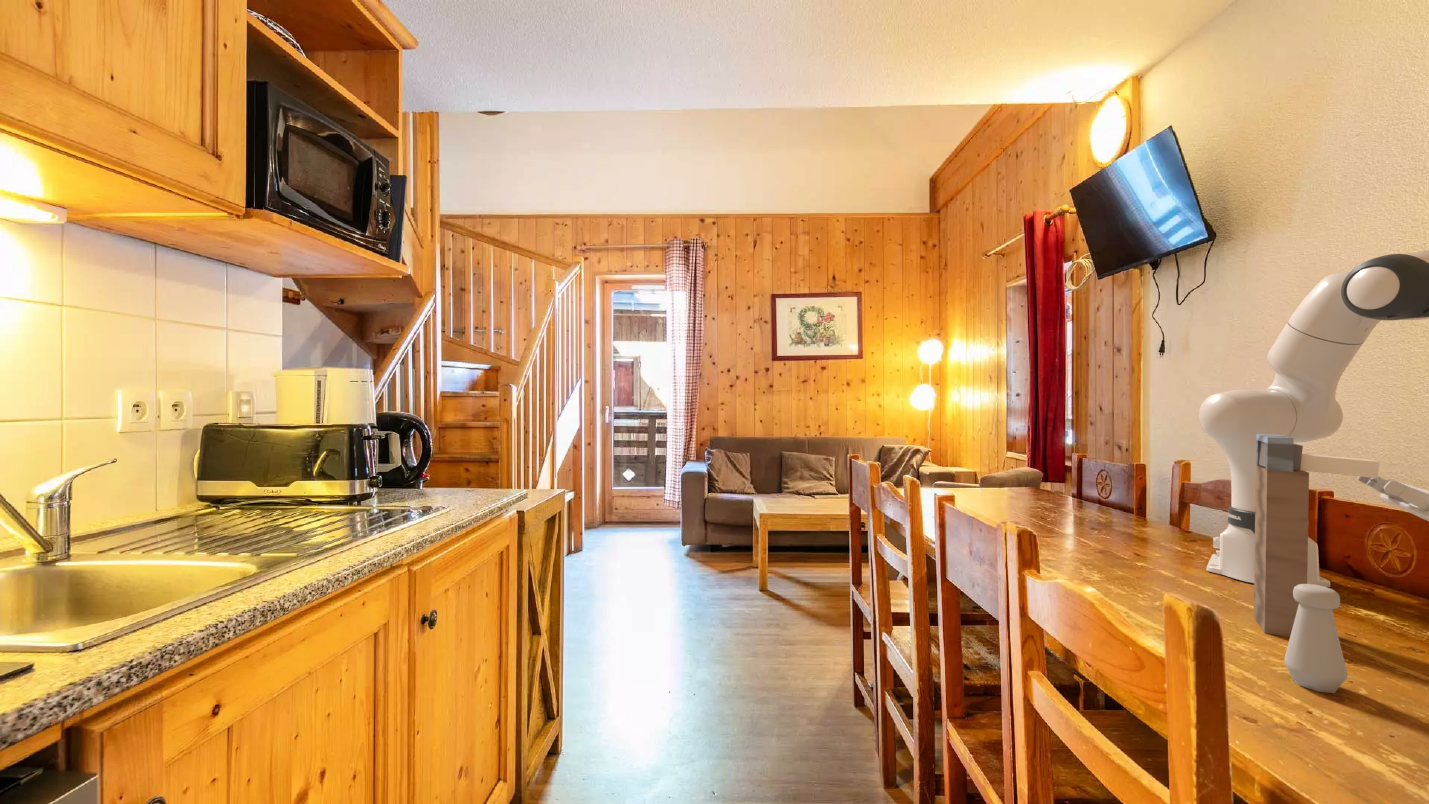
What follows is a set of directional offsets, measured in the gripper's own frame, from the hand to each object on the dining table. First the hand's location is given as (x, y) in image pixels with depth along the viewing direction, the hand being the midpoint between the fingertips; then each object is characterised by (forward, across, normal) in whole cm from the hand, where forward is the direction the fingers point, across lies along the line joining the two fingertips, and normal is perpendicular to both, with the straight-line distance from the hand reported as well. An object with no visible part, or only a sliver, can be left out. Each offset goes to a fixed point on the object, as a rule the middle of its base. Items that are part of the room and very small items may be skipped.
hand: (1373, 479), depth 90 cm
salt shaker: (-3, +23, +27) cm, 36 cm away
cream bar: (+6, 0, +2) cm, 6 cm away
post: (-4, 0, +27) cm, 27 cm away
